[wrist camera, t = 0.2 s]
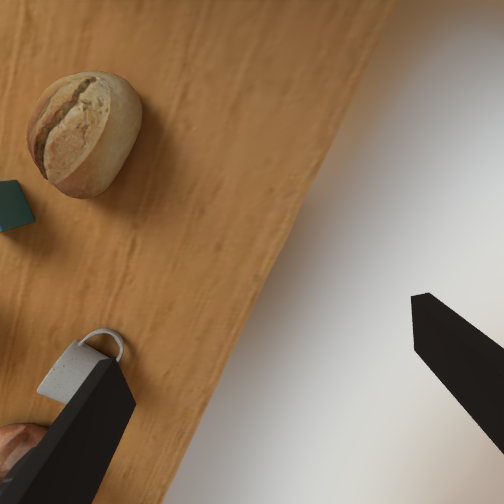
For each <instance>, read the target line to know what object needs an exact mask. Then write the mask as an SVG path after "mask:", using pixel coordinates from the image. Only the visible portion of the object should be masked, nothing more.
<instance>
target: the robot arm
mask: <svg viewBox="0 0 504 504" xmlns="http://www.w3.org/2000/svg"><path fill="white" fill-rule="evenodd" d="M411 306H412V322H413V337H414V350H415V351H416V353H417V354H418V355H419V356H420V357H421V359H422V360H423V361H424V362H425V363H426V364H427V366H428V367H429V368H430V369H431V370H432V371H433V373H434V374H435V375H436V376H437V377H438V378H439V380H440V381H441V382H442V383H443V384H444V385H445V386H446V388H447V389H448V390H449V391H450V392H451V394H452V395H453V396H454V397H455V398H456V399H457V401H458V402H459V403H460V404H461V405H462V406H463V407H464V409H465V410H466V411H467V412H468V413H469V414H470V416H471V417H472V418H473V419H474V420H475V422H476V423H477V424H478V425H479V426H480V427H481V428H482V430H483V431H484V432H485V433H486V434H487V436H488V437H489V438H490V439H491V440H492V441H493V443H494V444H495V445H496V446H497V447H498V448H499V450H500V451H501V452H502V453H503V454H504V348H502V347H501V346H500V345H498V344H497V343H496V342H494V341H493V340H492V339H490V338H489V337H488V336H486V335H485V334H484V333H482V332H481V331H480V330H478V329H477V328H476V327H474V326H473V325H472V324H470V323H469V322H468V321H466V320H465V319H464V318H462V317H461V316H459V315H458V314H457V313H456V312H454V311H453V310H452V309H450V308H449V307H448V306H446V305H445V304H444V303H442V302H441V301H440V300H438V299H437V298H436V297H434V296H433V295H432V294H430V293H425V294H420V295H415V296H411ZM135 406H136V402H135V400H134V398H133V396H132V393H131V391H130V389H129V387H128V384H127V382H126V380H125V378H124V375H123V373H122V371H121V369H120V366H119V364H118V362H117V360H116V357H113V358H108V359H103V360H99V361H98V362H97V364H96V365H95V367H94V368H93V369H92V371H91V372H90V373H89V375H88V376H87V378H86V379H85V380H84V382H83V383H82V384H81V386H80V387H79V388H78V390H77V391H76V393H75V394H74V395H73V397H72V398H71V399H70V401H69V402H68V403H67V405H66V406H65V408H64V409H63V410H62V412H61V413H60V414H59V416H58V417H57V419H56V420H55V421H54V423H53V424H52V425H51V427H50V428H49V429H48V431H47V432H46V434H45V435H44V436H43V438H42V439H41V440H40V442H39V443H38V444H37V446H36V447H32V448H31V449H30V450H29V451H28V452H27V453H26V454H25V455H23V456H22V457H21V458H20V459H19V460H18V461H17V462H16V463H15V464H14V466H13V467H12V468H11V469H10V471H9V472H8V473H7V475H6V476H5V477H4V479H3V480H2V484H0V504H92V502H93V500H94V497H95V495H96V493H97V491H98V488H99V486H100V484H101V482H102V480H103V477H104V475H105V473H106V471H107V468H108V466H109V464H110V462H111V460H112V457H113V455H114V453H115V451H116V449H117V446H118V444H119V442H120V440H121V437H122V435H123V433H124V431H125V429H126V426H127V424H128V422H129V420H130V417H131V415H132V413H133V411H134V409H135Z"/></svg>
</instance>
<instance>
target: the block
mask: <svg viewBox="0 0 504 504" xmlns="http://www.w3.org/2000/svg"><path fill="white" fill-rule="evenodd" d="M32 222H35V219H34V217H33V215H32V213H31V210H30V208H29V206H28V204H27V202H26V199H25V197H24V195H23V193H22V191H21V189H20V186H19V184H18V182H17V180H10V181H0V232H2V231H5V230H9V229H12V228H15V227H19V226H22V225H25V224H28V223H32Z"/></svg>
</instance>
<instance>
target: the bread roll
mask: <svg viewBox="0 0 504 504" xmlns="http://www.w3.org/2000/svg"><path fill="white" fill-rule="evenodd" d="M141 122H142V104H141V101H140V98H139V96H138V94H137V92H136V91H135V90H134V88H133V87H132V86H131V85H130V83H129V82H128V81H127V80H125V79H124V78H122V77H120V76H117V75H114V74H110V73H106V72H102V71H89V72H83V73H76V74H71V75H68V76H65V77H63V78H61V79H58V80H57V81H55V82H54V83H52V84H51V85H50V86H49V87H48V88H47V89H46V90H45V91H44V92H43V93H42V95H41V96H40V98H39V100H38V101H37V103H36V105H35V107H34V109H33V111H32V114H31V116H30V119H29V123H28V129H27V141H28V148H29V151H30V153H31V156H32V158H33V161H34V162H35V164H36V165H37V167H38V168H39V170H40V172H41V174H42V175H43V177H44V178H45V179H47V180H49V182H51V184H52V185H54V186H55V187H56V188H57V189H58V190H59V191H61V192H62V193H64V194H65V195H67V196H70V197H73V198H78V199H88V198H93V197H95V196H97V195H99V194H100V193H102V192H103V191H104V190H106V189H107V188H108V187H109V185H110V184H111V183H112V181H113V180H114V179H115V177H116V176H117V174H118V172H119V171H120V169H121V167H122V166H123V164H124V162H125V160H126V159H127V157H128V155H129V153H130V151H131V149H132V147H133V145H134V143H135V141H136V139H137V136H138V133H139V130H140V127H141Z"/></svg>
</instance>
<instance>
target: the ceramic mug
mask: <svg viewBox="0 0 504 504" xmlns="http://www.w3.org/2000/svg"><path fill="white" fill-rule="evenodd" d="M102 333H108V334H110V335H111V336H113V337H114V339H115V341H116V342H118V344H119V346H120V354H119V356H118V358H117V359H116V360H117V362H119V360H120V358H121V356H122V354H123V351H124V342H123V339H122V337H121V336H120V335H119V334H118V333H117V332H115V331H113V330H111V329H107V328H102V329H98V330H95V331H93V332H91V333H90V334H89V335H87V336H86V337H85V338H84V339H83V340H82V341H79V340H77V339H76V340H74V341H73V342H72V343H71V344H70V345H69V346H68V348H67V349H66V350H65V351H64V352H63V354H62V355H61V356H60V358H59V359H58V360H57V362H56V363H55V364H54V366H53V367H52V368H51V370H50V371H49V373H48V374H47V375H46V377H45V378H44V380H43V381H42V383H41V385H40V386H39V388H38V390H37V393H39V394H41V395H44V396H47V397H49V398H52V399H54V400H57V401H59V402H62V403H65V404H67V403H68V402H69V401H70V399H71V398H72V397H73V395H74V394H75V393H76V391H77V390H78V388H79V387H80V386H81V384H82V383H83V382H84V380H85V379H86V378H87V376H88V375H89V373H90V372H91V371H92V369H93V368H94V367H95V365H96V364H97V362H98V361H99V360H103V359H108V358H109V357H107V356H105V355H104V354H102V353H100V352H98V351H97V350H95V349H94V348H92V347H90V346H88V345H87V344H85V343H84V342H85V341H86V340H87V339H89V338H90V337H92V336H94V335H97V334H102Z"/></svg>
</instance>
